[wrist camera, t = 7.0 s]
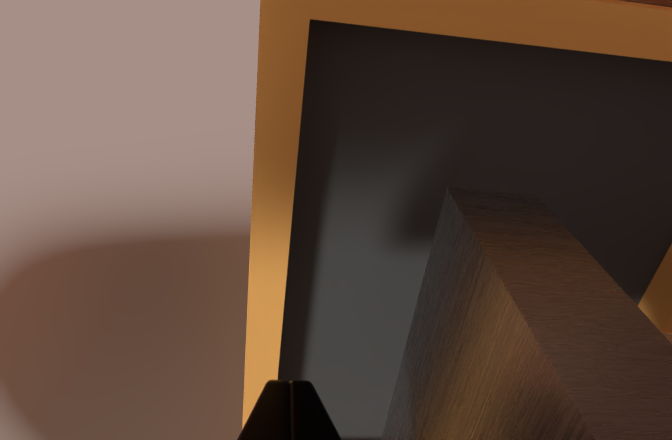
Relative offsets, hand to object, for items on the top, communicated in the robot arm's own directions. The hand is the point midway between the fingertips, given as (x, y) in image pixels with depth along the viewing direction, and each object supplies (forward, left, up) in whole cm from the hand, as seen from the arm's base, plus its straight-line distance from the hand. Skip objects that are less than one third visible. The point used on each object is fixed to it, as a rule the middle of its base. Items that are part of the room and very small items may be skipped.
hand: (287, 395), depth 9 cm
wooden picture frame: (0, -5, -4) cm, 6 cm away
